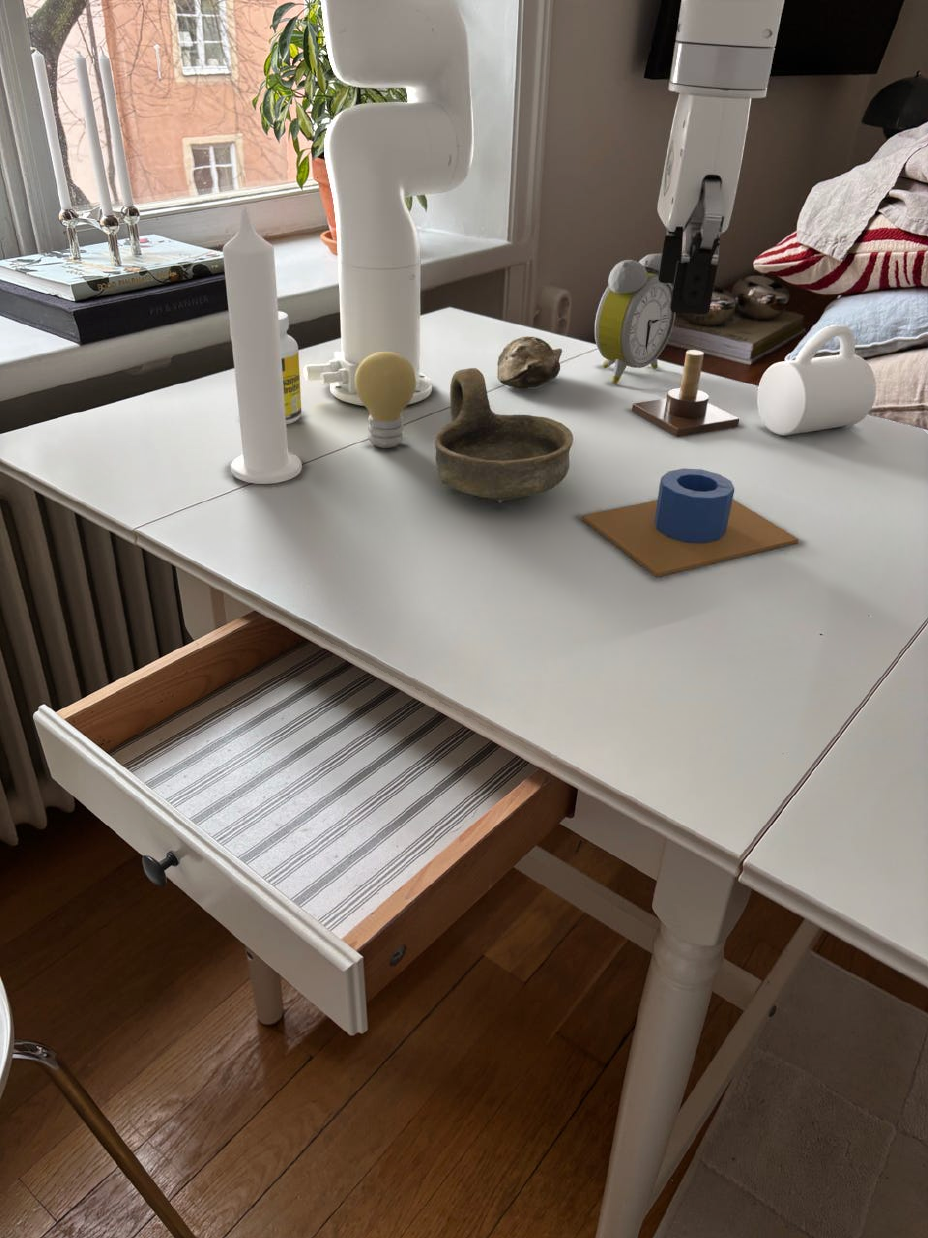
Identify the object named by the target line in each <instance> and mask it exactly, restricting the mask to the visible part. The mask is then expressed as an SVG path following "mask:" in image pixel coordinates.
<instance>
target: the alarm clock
mask: <svg viewBox="0 0 928 1238" xmlns="http://www.w3.org/2000/svg"><path fill="white" fill-rule="evenodd" d="M661 256H662V252H659V253H650V254H646V255H645V256H644V257H642V258H641V259H639V261H637V260H634V259H625V260H622V261H619V262H618V263H617V264H615V265H614V266H613V268H612V269H611V270H610V273H609V275H608V279H607V280H608V285H607V286H606V287H607V288H606V289H605V290H604V293H603V294H602V296H601V299H600V301H599V305H598V308H597V311H596V313H595V320H594V340H595V344H596V347H597V350H598V351H599V353H600V355H601V356H602V357H603V358H605V359H604V361H603V364H602V367H603V368H604V369H607V368H609V367H610V366H611V365H613V364H614V365H613V375H612V380H611V381H612V383H613V384H615V385H617V384H619V382H620V379H621V377H622V375H623V373H624V372H625V370H626V368H627V367H629V368H635V369H642V368H646V367H648V366H649V365H650V367H651V368H652V369H653V370H656V369H658V368H659V365H658V357H660V355H661V354H662V352H663V351H664V349H665V348H666V346H667V344H668V342H669V340H670V338H671V333H672V331H673V329H674V326H675V319H676V314H677V313H674V312H672V311H671V309H670V302H671V296H672V290H673V285H672V283H661V282H660V281H659V279H658V275H659V268H660V262H661Z"/></svg>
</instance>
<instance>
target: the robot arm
mask: <svg viewBox="0 0 928 1238" xmlns="http://www.w3.org/2000/svg"><path fill="white" fill-rule="evenodd" d="M320 2H321V5H320V6H321V12H322V20H323V21H322V22H323V28H324V36H325V38H324V39H325V45H326V50H327V55H328V59H329V63H330V66H331V68H332V71H333V73H334V75H335V76H336V77H337V78H338V80H339V81H341V82H342V83H344V84H346V85H348V86H351V87H353V88H363V89H401V88H402V89H404V88H405V90H406V96H407V101H404V102H403V101H383V102H382V101H381V102H366V103H359V104H356V105H352V106H349V107H348V108H345V109H343V110H342V111H341V112H339V113H338V114H337V115H336V116H334V118H333V119H332V120H331V122H330V123H329V125H328V127H327V130H326V134H325V137H324V160H325V165H326V171H327V175H328V180H329V184H330V189H331V195H332V198H333V199H332V200H333V206H334V215H335V216H334V217H335V225H336V226H335V227H336V240H337V242H336V243H337V261H338V285H339V288H338V289H339V316H340V343H341V344H340V345H341V351H334V353H333V356H334V357H333V359H329V360H328V361H327V363H321V364H319V363H312V364H305V365H303V367H302V373H303V379H304V380H305V382H315V381H320V384H321V385H329V389H330V393H331V395H332V396H334V397H335V398H336V399H338V400H340V401H342V402H345V403H348V404H352V405H356V406H362V407H365V405H364V404H363V403H362V401H361V400H360V398H359V396H358V394H357V391H356V387H355V375H356V371H357V369H358V366H359V365H360V363H361V362H362V361H363V360H364V359H365V358H366V357H368V356H370V355H372V354H374V353H377V352H392V353H396V354H398V355H400V356H402V357H404V358H405V359H407V360H408V361H409V362H410V364H411V366H412V367H413V370H414V373H415V379H416V385H415V391H414V394H413V396H412V398H411V400H410V402H409V403H408V405H413V404H416V403H419V402H422V401H423V400H426V399H427V398H428V397H429V396H430V395H431V394H432V391H433V382H432V380H431V379H430V377H429V376H427V375H425V374H424V373H422V372H420V371H421V275H422V273H421V269H422V267H421V266H422V265H421V262H422V261H421V241H420V240H421V239H420V235H419V230H418V227H417V225H416V223H415V221H414V218H413V216H412V214H411V212H410V211H409V208H408V206H407V203H406V198H412V197H417V196H426V195H433V194H434V195H435V194H442V193H446V192H450V191H452V190H454V189H456V188H458V187H459V186H461V185H462V183H464V182H465V180H466V179H467V177H468V175H469V173H470V170H471V168H472V165H473V158H474V151H475V150H474V149H475V142H474V141H475V137H474V136H475V133H474V132H475V131H474V115H473V99H472V83H471V81H472V79H471V63H470V50H469V39H468V34H467V30H466V25H465V22H464V19H463V17H462V14H461V12H460V10H459V8H458V7H457V5H456V3H455V2H454V0H320ZM784 4H785V0H681V2H680V8H679V15H678V16H679V17H678V23H677V28H676V29H677V30H676V34H675V42H674V48H673V56H672V61H671V67H670V76H669V82H668V88H667V89H668V91H670V92H675V93H678V98H677V101H676V106H675V110H674V115H673V119H672V124H671V129H670V135H669V140H668V144H667V145H668V146H667V151H666V157H665V161H664V167H663V174H662V178H661V185H660V189H659V195H658V199H657V200H658V201H657V209H656V210H657V214H658V216H659V218H660V220H661V222H662V223H663V225H664V227H665V228H666V234H665V235H664V236H663V243H662V251H661V253H662V256H661V262H660V268H659V275H658V279H659V281H660V282H661V283H671V284H673V285H672V287H673V290H672V296H671V302H670V309H671V311H672V312H674V313H676V314H690V315H704V316H705V315H707V314H708V313H710V309H711V303H712V297H713V292H714V288H715V282H716V276H717V271H718V267H719V266H718V263H719V262H718V261H719V258H720V257H719V255H720V245H721V244H720V241H721V235H722V234H723V233H725V232H726V231H727V230H728V228H729V225H730V222H731V217H732V213H733V210H734V204H735V199H736V194H737V189H738V184H739V179H740V173H741V168H742V161H743V155H744V151H745V150H744V149H745V143H746V137H747V131H748V129H749V125H748V124H749V117H750V111H751V104H752V99H763V98H766V97H767V91H768V85H769V81H770V80H769V79H770V75H771V70H772V64H773V59H774V54H775V50H776V48H775V47H776V44H777V40H778V33H779V30H780V24H781V18H782V13H783V9H784ZM408 405H407V406H408Z"/></svg>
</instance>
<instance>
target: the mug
mask: <svg viewBox="0 0 928 1238" xmlns="http://www.w3.org/2000/svg"><path fill="white" fill-rule="evenodd" d="M836 337H837V338H838V340H839V354H833V355H827V356H826V355H824V356H816V355H817V353H818V352H819V351H820V350H821V349H822V348H823V347H824V346H825V345H826V344H827V343H829V342H830V341H831V340H832V339H834V338H836ZM855 351H856V337H855V334H854V332H853V330H852V329H851V328H849V327H848V326H846V325H843V324H829V325H827V326H825V327H823V328H821V329H819V330H818V331H817V332H816V333H814V334H813V336H811V338H810V339H808V341H807V342H806V343H805V344H804V345H803V347H802V348H801V349H800V351H799V352H798V354H797V356H796V357H795V359H792V360H784V361H778V362H775V363H773V364H772V365H770V366H769V367H768V368H767V369H766V370H765V371H764V373H763V374H762V376H761V378H760V381H759V383H758V387H757V392H756V393H757V394H756V403H757V410H758V413H759V417H760V419H761V421H762V423H763V424H764V426H765V427H766V428H767V429H768V431H770V432H772V433H773V434H774V435H778V436H783V437H785V436H790V435H797V434H803V433H811V432H815V431H817V432H818V431H823V430H829V429H835V428H841V427H847V426H854V425H856V424H858V423H860V422H862V421H863V420H864V419H865V418H866V417H867V416H868V415H869V413H870V412H871V410H872V409H873V405H874V403H875V400H876V395H877V384H876V383H877V382H876V378H875V374H874V372H873V369H872V367H871V366H870V365H869V363H868V362H867V361H866V360H865V359H864V358H863V357H861V356H860V355H858V354H855Z"/></svg>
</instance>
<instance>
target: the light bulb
mask: <svg viewBox="0 0 928 1238" xmlns="http://www.w3.org/2000/svg"><path fill="white" fill-rule="evenodd" d="M415 385H416V379H415V373H414V370H413V367H412V366H411V364H410V362H409V361H408V360H407V359H405V358H404V357H402V356H400V355H398V354H396V353H392V352H377V353H374V354H372V355H370V356H368V357H366V358H365V359H364V360H363V361H362V362H361V363H360V365H359V366H358V369H357V371H356V375H355V387H356V391H357V394H358V396H359V398H360V400H361V401H362V403H363V404H364V405H365V406H364V407H365V408H366V409H367V410H368V412H369V416H368V417H367V418H368V432H369V433H368V440H369V442H370V443H372V444H373V445H374V446H375V447H378V448H384V449H389V448H394V447H397V446H398V445H400V444H401V443H402V442H403V441H404V433H403V432H404V416H403V414H402V413H403V411H404V410H405V409H406V407H407V406H408V403H409V402H410V400H411V398H412V396H413V394H414V391H415Z"/></svg>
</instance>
